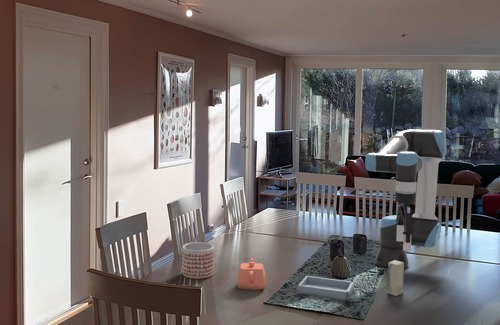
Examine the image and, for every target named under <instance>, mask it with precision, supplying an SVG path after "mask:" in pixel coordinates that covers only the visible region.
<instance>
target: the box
mask: <svg viewBox="0 0 500 325" xmlns="http://www.w3.org/2000/svg"><path fill="white" fill-rule="evenodd" d="M404 269H405V268H404V262H400V261H396V260H394V261H391V262H389V263H388V268H387V290H386V292H387V294H388V295H391V296H394V297H396V296H399V295H401V294H403V291H404V271H405V270H404Z"/></svg>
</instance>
